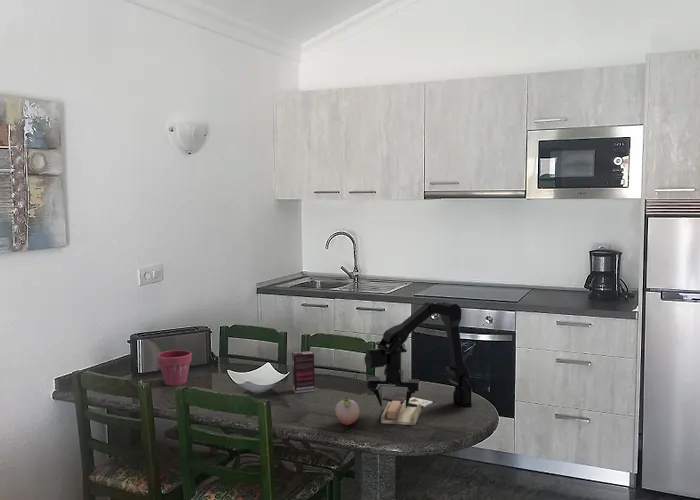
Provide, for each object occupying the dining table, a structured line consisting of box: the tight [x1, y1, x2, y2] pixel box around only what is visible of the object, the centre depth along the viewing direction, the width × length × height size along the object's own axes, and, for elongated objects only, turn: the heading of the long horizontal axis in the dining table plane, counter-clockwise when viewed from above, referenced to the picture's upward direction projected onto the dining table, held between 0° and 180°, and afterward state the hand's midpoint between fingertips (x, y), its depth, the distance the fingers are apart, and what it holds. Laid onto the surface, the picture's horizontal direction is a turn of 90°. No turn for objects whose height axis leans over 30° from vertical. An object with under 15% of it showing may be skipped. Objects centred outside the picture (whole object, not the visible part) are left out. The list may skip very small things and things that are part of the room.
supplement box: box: [291, 350, 316, 394], centre depth 276 cm, size 9×5×16 cm, turn 106°
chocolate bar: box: [382, 392, 435, 409], centre depth 262 cm, size 9×1×18 cm
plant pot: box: [156, 349, 193, 386], centre depth 290 cm, size 14×14×13 cm
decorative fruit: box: [334, 397, 361, 426], centre depth 236 cm, size 9×8×10 cm
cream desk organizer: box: [380, 401, 422, 426], centre depth 244 cm, size 12×16×2 cm
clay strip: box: [387, 401, 402, 419], centre depth 244 cm, size 3×12×2 cm, turn 167°
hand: (394, 407), depth 244 cm, fingers open, 9 cm apart
